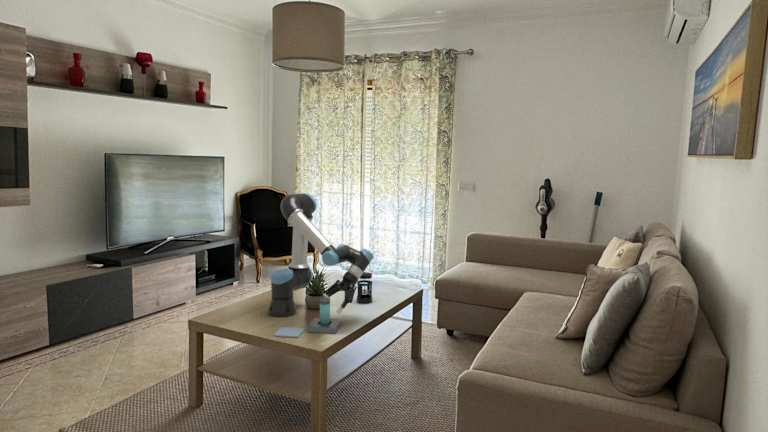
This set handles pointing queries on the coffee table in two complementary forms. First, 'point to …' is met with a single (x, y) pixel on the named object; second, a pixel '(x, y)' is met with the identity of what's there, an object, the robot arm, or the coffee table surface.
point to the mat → (289, 332)
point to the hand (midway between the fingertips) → (329, 309)
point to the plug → (325, 311)
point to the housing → (324, 326)
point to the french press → (365, 295)
